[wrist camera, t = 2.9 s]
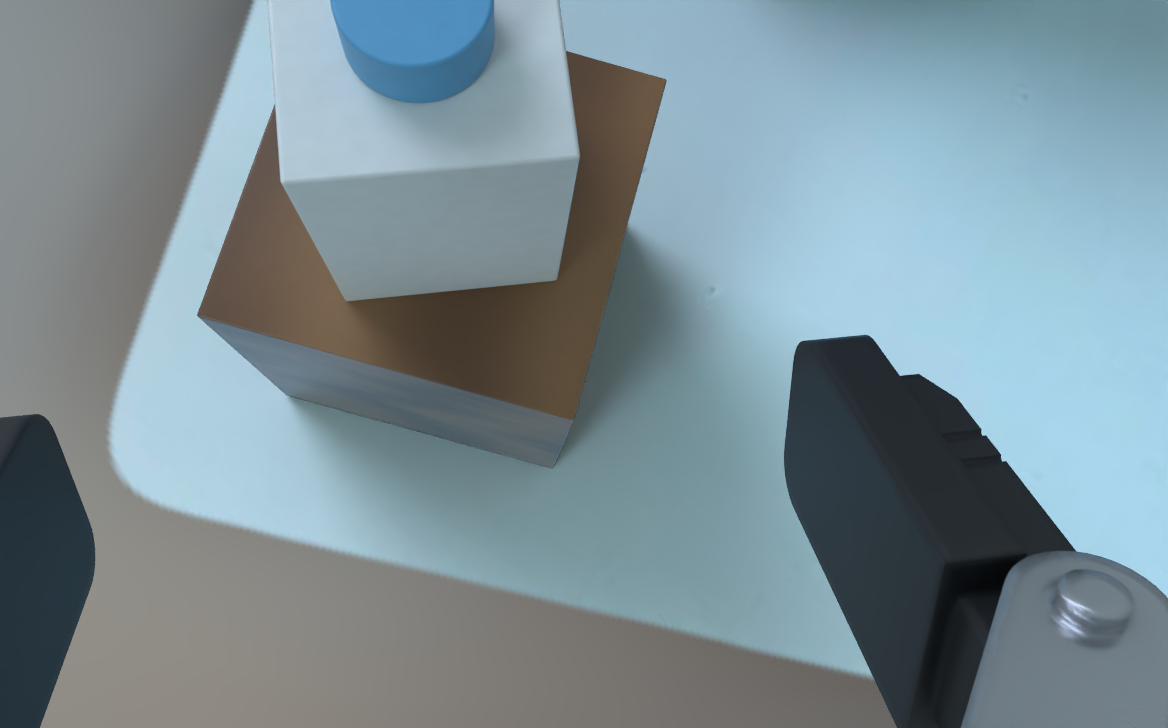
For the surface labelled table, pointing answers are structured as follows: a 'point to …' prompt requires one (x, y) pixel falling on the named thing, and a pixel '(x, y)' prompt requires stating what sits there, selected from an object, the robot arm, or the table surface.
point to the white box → (426, 139)
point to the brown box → (442, 300)
